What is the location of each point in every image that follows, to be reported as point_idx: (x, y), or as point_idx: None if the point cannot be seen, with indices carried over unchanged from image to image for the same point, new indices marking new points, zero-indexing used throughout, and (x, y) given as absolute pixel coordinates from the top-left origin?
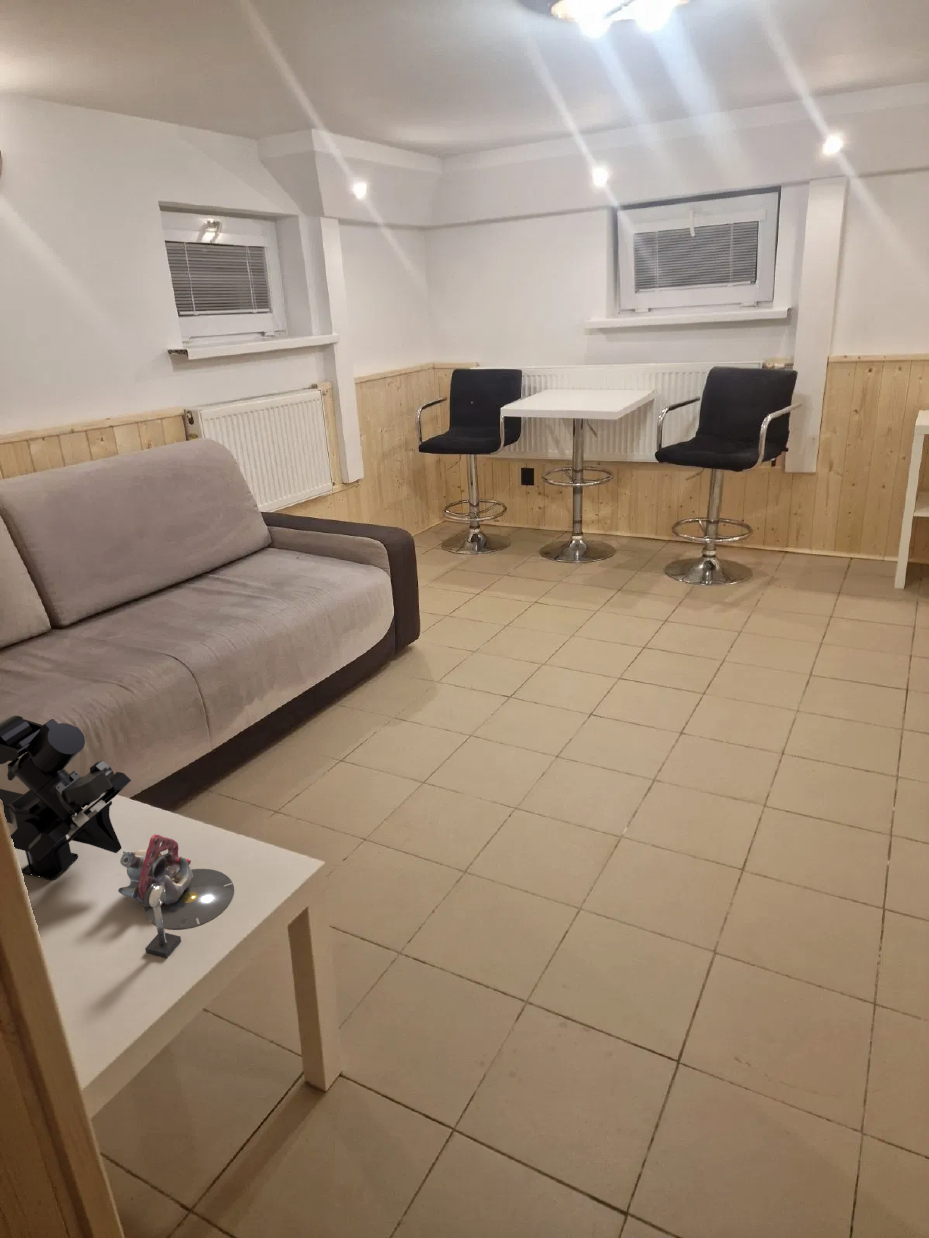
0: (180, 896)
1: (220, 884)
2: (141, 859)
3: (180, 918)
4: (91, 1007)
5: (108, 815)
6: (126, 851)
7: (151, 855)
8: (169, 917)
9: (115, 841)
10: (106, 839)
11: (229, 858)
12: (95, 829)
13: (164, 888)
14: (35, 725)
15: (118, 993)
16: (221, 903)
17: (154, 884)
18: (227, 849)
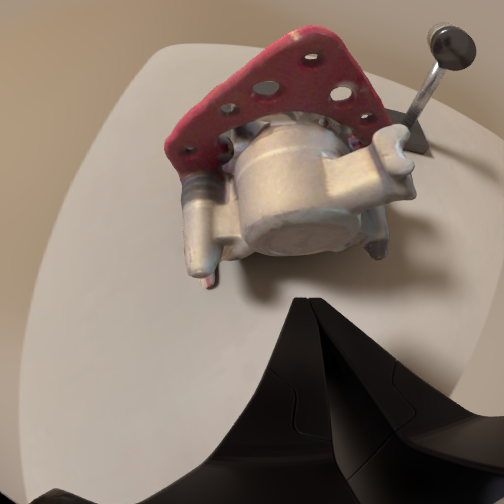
0: None
1: (222, 108)
2: (337, 154)
3: (338, 131)
4: (500, 185)
5: (219, 463)
6: (401, 156)
7: (331, 100)
8: None
9: (312, 320)
10: (372, 345)
11: (137, 132)
12: (443, 418)
13: (432, 28)
14: None
15: (476, 162)
16: (273, 89)
17: (454, 27)
18: (107, 151)
